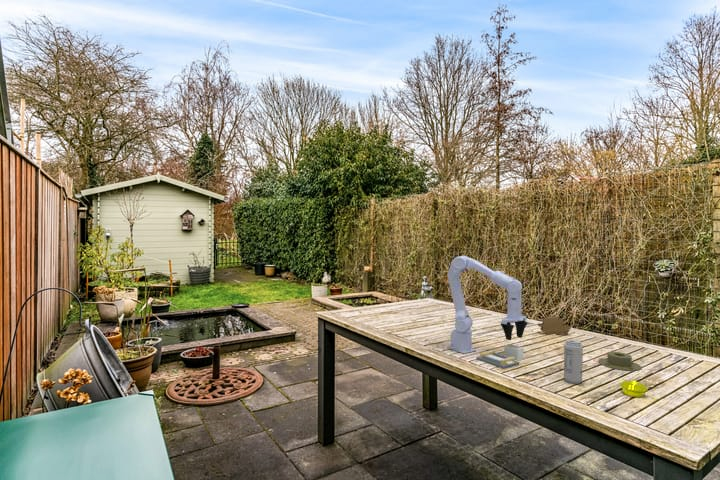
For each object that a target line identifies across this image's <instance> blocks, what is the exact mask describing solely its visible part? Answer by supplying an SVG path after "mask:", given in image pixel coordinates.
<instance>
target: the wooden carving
mask: <svg viewBox="0 0 720 480" xmlns="http://www.w3.org/2000/svg"><path fill="white" fill-rule="evenodd" d="M541 319H542V320H541V321H542V323H539V322H538V323H537V326H538V327H540V328H539V329H540V331H541V332H543V333H545V334H547V335H550V334H558V335H562V334H563V335H568V334H569V331H570V330H571V329H572V328H571V326H570V325H568V324H565V321H564V319H563V318H562V317H561V318H560V317H558V316H554V315H553V316H552V315H550V316H546V317H543V318H541Z"/></svg>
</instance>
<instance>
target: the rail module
mask: <svg viewBox="0 0 720 480" xmlns="http://www.w3.org/2000/svg"><path fill="white" fill-rule="evenodd" d="M503 347H504V348H503V355H504V356H507V357H515V361H517V362H519V361H523V360H524V359H525V357H524V354H525V352H524V347H521V346H518V345H515V344H512V343H508V344H505V345H504V346H503Z"/></svg>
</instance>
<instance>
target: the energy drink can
mask: <svg viewBox="0 0 720 480" xmlns="http://www.w3.org/2000/svg"><path fill="white" fill-rule="evenodd" d="M563 346H564V347H563V379H564V380H565V381H566V382H567V383H569V384H574V385H580V384H581V382H583V359H584V358H583V351H584V349H583V348H584V347H583V345H582V342H581V341H580V340H578V339H571V338H569V339H566V340H565V342H564V344H563Z"/></svg>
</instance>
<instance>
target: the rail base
mask: <svg viewBox="0 0 720 480" xmlns="http://www.w3.org/2000/svg"><path fill="white" fill-rule="evenodd" d="M476 360H477V361H480V362H482V361H483V362H484V363H485V364H489V365H490V366H494V367H497V368H499V367H500V368H499V369H503V370H505V369H508V368H512V367H516V366H519V365H520V362H519V361H517V360H515V357H507V356H504V354H502V353H501V354H500V353H497V352H496V351H495V350H488V351H484V352H480V355H479V356H476ZM483 362H482V363H483Z"/></svg>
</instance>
